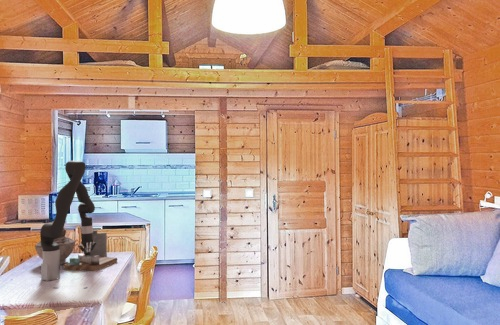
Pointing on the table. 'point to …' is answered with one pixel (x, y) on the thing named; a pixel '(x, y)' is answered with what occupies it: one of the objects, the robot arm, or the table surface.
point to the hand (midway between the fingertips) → (87, 257)
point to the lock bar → (89, 259)
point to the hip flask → (99, 244)
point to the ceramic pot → (65, 247)
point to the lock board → (82, 266)
